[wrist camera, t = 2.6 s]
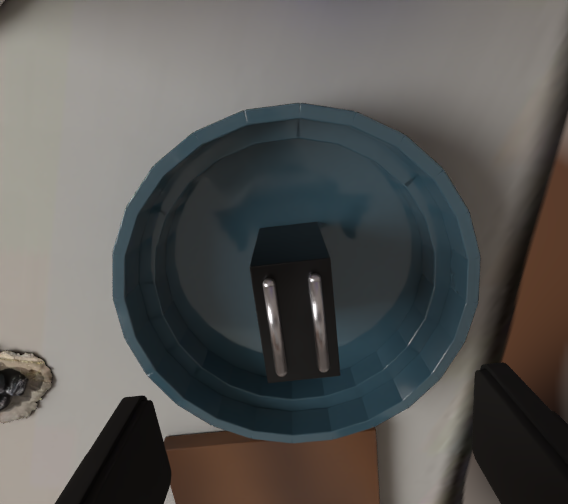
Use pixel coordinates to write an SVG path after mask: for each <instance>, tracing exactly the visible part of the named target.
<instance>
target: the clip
mask: <svg viewBox="0 0 568 504" xmlns="http://www.w3.org/2000/svg"><path fill="white" fill-rule="evenodd" d="M249 269H250V275H251V281H252V288H253V294H254V300H255V306H256V312H257V319H258V325H259V331H260V337H261V344H262V350H263V356H264V362H265V369H266V375H267V381H268V383H274V382H284V381H294V380H304V379H314V378H324V377H334V376H340V364H339V352H338V340H337V329H336V317H335V305H334V294H333V282H332V270H331V259H330V256H329V253H328V250H327V247H326V245H325V242H324V239H323V236H322V233H321V231H320V228H319V225H318V222H310V223H301V224H293V225H284V226H276V227H267V228H260V229H259V232H258V236H257V240H256V244H255V248H254V251H253V255H252V259H251V263H250V267H249Z"/></svg>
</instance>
